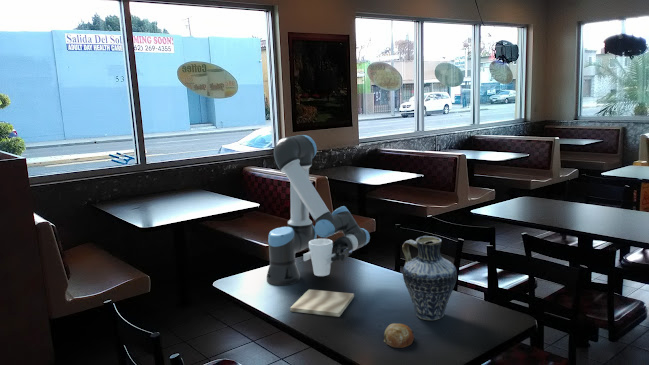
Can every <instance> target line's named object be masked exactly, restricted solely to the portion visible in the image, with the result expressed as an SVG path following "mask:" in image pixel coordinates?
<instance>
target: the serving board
mask: <svg viewBox="0 0 649 365" xmlns="http://www.w3.org/2000/svg"><path fill="white" fill-rule="evenodd" d="M307 289H308V288H307ZM354 298H355V293H351V292H339V291H331V290H319V289H310V288H309V289H308V290H307V291H305V292H304V293H303V295H302V296H300V297H299V298H298V299H297V300H296V301H295V302H294V303H293V304H292V306H290V312H294V313H304V314H311V315H312V314H313V315H319V316H328V317H338V318H340V317H341V315H342V314H343V312H344V311H345V310H346V309H347V307H348V306H349V304H351V302H352V300H353V299H354Z"/></svg>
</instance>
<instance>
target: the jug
mask: <svg viewBox="0 0 649 365" xmlns="http://www.w3.org/2000/svg"><path fill="white" fill-rule="evenodd" d="M410 246H413V247H414V248H416V249H417V250H418V252H417V256H415V257H413V258H412V256H411V252H410ZM441 246H442V239H441V238H439V237H438V236H434V235H433V236H429V235H423V236H419V237H417V238H416V239H415V240H413V239H409V240H406V241H404V242H403V244H402V248H401V250H402V252H403V255H404V258H405V262H404V266H403V268H402V277H403V281H404V285H405V287H406V289H407V291H408V294H409V297H410V299H411V302H412V306H413V308H414V312H415V313H414V314H415V315H416V317H418V318H419V319H421V320H425V321H436V320H440V319H441V318H443V317H444V316H445V313H446V312H445V311H446V309H447V304H448V302H449V300H450V298H451V295H452V292H453V291H454V288H455V286H456V283H457V279H458V271H457V267H456V266H455V265H454V264H453V262H451V261H450V260H448V259H446V258H444V257H443V256H442V255H441V248H442V247H441Z"/></svg>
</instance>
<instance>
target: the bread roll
mask: <svg viewBox="0 0 649 365" xmlns="http://www.w3.org/2000/svg"><path fill="white" fill-rule="evenodd" d="M384 330H385V331H384V332H383V333H384V334H383V338H384V339H383V342H384V343H385V344H386V345H388V346H390V347H392V348H397V349H398V348H399V349H401V348H402V349H403V348H406V347H408V346H411V345H412V344H413V342H414V339H415V336H414V331H413V330H412V329H411V327H409V326H408V325H407V324H404V323H390V324H389V325H387V327H386V328H385V329H384Z"/></svg>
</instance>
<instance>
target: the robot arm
mask: <svg viewBox="0 0 649 365" xmlns="http://www.w3.org/2000/svg"><path fill="white" fill-rule="evenodd" d="M273 148H274V149H273V158H274V161H275V164H276V166H277V168H278V169H279V171H280V173H283V174H285V176H286V178H287V179H288V180H289V182H290V183H289V184H290V185H289V186H290V188H289V189H290V190H289V191H290V219H289V220H287V226H281V227H276V228H274V229H272V230H270V231H269V233H268V240H267V241H268V242H267V243H268V253H269V254H268V255H269V266H268V270H267V273H266V282H267V283H268V284H270V285H274V286H288V285H293V284H295V283H297V282H299V281H300V280H301V274H300V270H299V268H298V266H297V264H296V253H300V252H302V251H304V250H308V252H306V253H303V254H302V255H303V256H302V257H303V262H307V261H308V260H311V254H310V249H309V241H310V240H314V239H318V238H317V237H320V238H322V239H326V238H328V237H332V236H334V235H336V234H337V233H342V234H343V235H342V236H341V237H339V238H336V239H335V240H334V242H333V248H332V255H330V256H328V257H326V258H325V265H328V264H330V263H331V264H332V263H333V262H336V261H340V260H341V261H342V262H343V261H345V260H346V259H347V258H348V257H349V256H350V255H353V252H354V251H356V250H359V249H360V248H362V247H364V246H366V245H367V244H368V243H369V242H370V239H371V236H370V233H369V231H368V230H367V229H365V228H364V227H363V228H361V227H360V226H359V224H358V222H357V220H356V219H355V218H354V217H353V215H352V213H351V211H349V209H348V208H347V206H345V205H343V206H340V207H338V208H336V209H335V210H333V211H332V212H331V211H330V210H329V209H328V207H327V205H326V204H325V202H324V200H323V199H322V197H321V196H320V194H319V192H318V191H317V189H316V188H315V186H314V184H313V183H312V181H311V180H310V176H309V175H310V168H311V167H312V166H313V159H314V157H315V156H316V155H317V150H318V148H317V144H316V142H315V140H314V139H313V138H312V137H311V136H309V135H308V134H307V135H306V134H297V135H294V136H285V137H282V138H280V139H279V140H278V141H277V142H276V143H275V144H274V147H273ZM310 216H311V217H312V219H313V220H314V222H315V225H313V221H312V220H311V219H310Z"/></svg>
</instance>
